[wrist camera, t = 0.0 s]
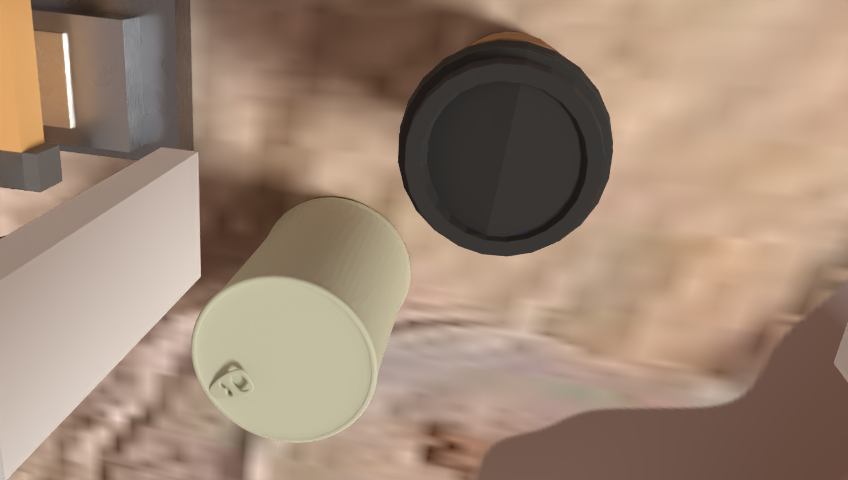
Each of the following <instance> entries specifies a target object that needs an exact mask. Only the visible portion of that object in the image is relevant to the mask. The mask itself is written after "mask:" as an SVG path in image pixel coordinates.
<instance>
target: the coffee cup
mask: <svg viewBox="0 0 848 480" xmlns="http://www.w3.org/2000/svg"><path fill="white" fill-rule="evenodd" d="M612 147H613V140H612V132H611V125H610V117H609V114H608V112H607V109H606V107H605V105H604V102H603V100H602V98H601V95H600V93H599V91H598V89H597V88H596V87H595V85H594V84H593V83H592V82H591V81H590V79H589V78H588V77H587V76H586V74H585V73H584V72H583V71H582V70H581V68H580V67H578V66H577V65H575V64H574V63H572V62H571V61H570V60H568V59H567V58H565V57H564V56H562V55H561V54H560V53H559V52H557V51H556V50H555V49H554V48H552V47H551V46H549V45H548V44H547V43H545V42H544V41H542V40H541V39H538V38H536V37H533V36H530V35H527V34H524V33H518V32H502V33H497V34H492V35H489V36H486V37H484V38H482V39H480V40H478V41H476V42H474V43H472V44H470V45H469V46H467V47H466V48H464V49H463V50H461V51H459V52H457V53H455V54H453V55H451V56H449V57H447V58H445V59H444V60H443V61H442V62H440V63H439V64H438V65H437V66H436V67H435V68H434V69H433V70H432V71H430V72H429V73H428V74H427V75H426V76H425V77H424V78H423V79H422V81H421V82H420V84H419V86H418V87H417V89H416V90H415V92H414V93H413V95H412V96H411V98H410V100H409V101H408V104H407V107H406V111H405V114H404V117H403V120H402V123H401V126H400V133H399V154H398V163H399V167H400V172H401V176H402V180H403V184H404V188H405V190H406V192H407V194H408V196H409V197H410V199H411V201H412V203H413V205H414V207H415V209H416V211H417V212H418V213H419V214H420V215H421V216H422V217H423V218H424V219H425V220H426V221H427V223H428V224H429V225H430V226H431V227H432V228H433V229H434V230H435V231H437V232H438V233H440V234H441V235H443V236H444V237H446V238H447V239H449V240H450V241H452V242H453V243H455V244H457V245H458V246H460V247H463V248H466V249H469V250H472V251H475V252H478V253H481V254H487V255H498V256H512V255H519V254H525V253H532V252H534V251H537V250H539V249H541V248H544V247H546V246H549V245H551V244H553V243H555V242H558V241H560V240H561V239H562V238H564V237H565V236H566V235H568V234H569V233H570V232H572V231H573V230H574V229H576V228H577V227H578V226H580V225H581V224H582V223H583V221H584V220H585V219H586V218H587V216H588V215H589V214H590V213H591V211H592V210H593V209H594V208H595V206H596V205H597V204H598V202H599V200H600V198H601V195H602V193H603V191H604V188H605V186H606V184H607V182H608V179H609V174H610V167H611V160H612V154H613V148H612Z"/></svg>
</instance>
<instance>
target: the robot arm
mask: <svg viewBox="0 0 848 480" xmlns="http://www.w3.org/2000/svg"><path fill="white" fill-rule="evenodd" d="M200 277H201V260H200V210H199V160H198V152H196V151H188V150H180V149H172V148H164V147H161V148H159V149H157V150H156V151H154V152H152V153H150V154H149V155H147V156H145V157H143V158H142V159H140V160H138V161H136V162H135V163H133V164H131V165H129V166H128V167H126V168H124V169H122V170H121V171H119V172H117V173H115V174H113V175H112V176H110V177H108V178H106V179H105V180H103V181H101V182H99V183H98V184H96V185H94V186H92V187H91V188H89V189H87V190H85V191H84V192H82V193H80V194H78V195H77V196H75V197H73V198H71V199H70V200H68V201H66V202H64V203H63V204H61V205H59V206H57V207H56V208H54V209H52V210H50V211H49V212H47V213H45V214H43V215H42V216H40V217H38V218H36V219H34V220H33V221H31V222H29V223H27V224H26V225H24V226H22V227H20V228H19V229H17V230H15V231H13V232H12V233H10V234H8V235H6V236H3V237H0V480H7V479H8V478H9V477H10V476H11V475H12V474H13V473H14V471H15V470H16V469H17V468H18V467H19V466H20V465H21V464H22V463H23V462H24V461H25V460H26V459H27V458H28V457H29V456H30V455H31V454H32V453H33V452H34V451H35V450H36V448H37V447H38V446H39V445H40V444H41V443H42V442H43V441H44V440H45V439H46V438H47V437H48V436H49V435H50V434H51V433H52V432H53V431H54V430H55V429H56V428H57V427H58V425H59V424H60V423H61V422H62V421H63V420H64V419H65V418H66V417H67V416H68V415H69V414H70V413H71V412H72V411H73V410H74V409H75V408H76V407H77V406H78V405H79V404H80V402H81V401H82V400H83V399H84V398H85V397H86V396H87V395H88V394H89V393H90V392H91V391H92V390H93V389H94V388H95V387H96V386H97V385H98V384H99V383H100V382H101V381H102V379H103V378H104V377H105V376H106V375H107V374H108V373H109V372H110V371H111V370H112V369H113V368H114V367H115V366H116V365H117V364H118V363H119V362H120V361H121V360H122V359H123V358H124V356H125V355H126V354H127V353H128V352H129V351H130V350H131V349H132V348H133V347H134V346H135V345H136V344H137V343H138V342H139V341H140V340H141V339H142V338H143V337H144V336H145V334H146V333H147V332H148V331H149V330H150V329H151V328H152V327H153V326H154V325H155V324H156V323H157V322H158V321H159V320H160V319H161V318H162V317H163V316H164V315H165V314H166V313H167V311H168V310H169V309H170V308H171V307H172V306H173V305H174V304H175V303H176V302H177V301H178V300H179V299H180V298H181V297H182V296H183V295H184V294H185V293H186V292H187V291H188V290H189V288H190V287H191V286H192V285H193V284H194V283H195V282H196V281H197V280H198V279H199V278H200ZM834 364H835V365H836V367H837V368H838V370H839V371H840V372H841V374H842V375H843V376H844V378H845V379H846V380H847V382H848V323H847V326H846V329H845V332H844V335H843V338H842V341H841V344H840V347H839V350H838V353H837V356H836V358H835V361H834Z"/></svg>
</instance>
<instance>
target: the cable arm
mask: <svg viewBox="0 0 848 480" xmlns="http://www.w3.org/2000/svg"><path fill="white" fill-rule="evenodd" d="M61 181H62V171H61V160H60V149H59V145H57V144H49V143H45V142H44V132H43V122H42V111H41V101H40V91H39V81H38V71H37V61H36V50H35V40H34V30H33V20H32V10H31V0H0V187H3V188H11V189H19V190H26V191H34V192H42V191H44V190H46V189H48V188H50V187H52V186H54V185H56V184H58V183H59V182H61Z"/></svg>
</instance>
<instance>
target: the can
mask: <svg viewBox="0 0 848 480" xmlns="http://www.w3.org/2000/svg"><path fill="white" fill-rule="evenodd" d="M410 277H411V269H410V261H409V256H408V253H407V250H406V247H405V245H404V243H403V241H402V239H401V237H400V236H399V234H398V232H397V231H396V230H395V229H394V227H393V226H392V225H391V224H390V223H389V222H388V221H387V220H386V219H385V218H384V217H383V216H382V215H380V214H379V213H378V212H376V211H374V210H373V209H371V208H370V207H368V206H366V205H363V204H361V203H358V202H356V201H352V200H348V199H343V198H335V197H327V198H317V199H313V200H309V201H306V202H303V203H301V204H299V205H296V206H295V207H293V208H292V209H290V210H289V211H287V212H286V213H285V214H284V215H282V216H281V217H280V218H279V219H278V221H277V222H276V223H275V225H274V226H273V227H272V229H271V231H270V233H269V235H268V237H267V238H266V239H265V240H264V242H263V243H262V244H261V245H260V246H259V248H258V249H257V250H256V251H255V252H254V253H253V255H252V256H251V257H250V258H249V259H248V260H247V261H246V263H245V264H244V265H243V266H242V267H241V268H240V269H239V271H238V272H237V273H236V274H235V275H234V276H233V277H232V278H231V280H230V281H229V282H228V283H227V284H226V285H225V286H224V287H223V288H222V289H221V290H220V291H219V292H218V293H216V294H215V295H214V296H213V297H212V298H211V299H210V300H209V301H208V302H207V304H206V305H205V306H204V308H203V309H202V311H201V312H200V314H199V316H198V318H197V320H196V323H195V326H194V330H193V334H192V343H191V354H192V361H193V366H194V370H195V373H196V376H197V378H198V380H199V383H200V385H201V387H202V388H203V390H204V392H205V394H206V395H207V396H208V398H209V399H210V400H211V402H212V403H213V404H214V405H215V406H216V408H218V409H219V410H220V411H221V412H222V413H223V414H224V415H225V416H226V417H227V418H229V419H230V420H231V421H233V422H234V423H235V424H237V425H239V426H240V427H242V428H244V429H245V430H247V431H249V432H251V433H254V434H256V435H259V436H262V437H265V438H268V439H272V440H277V441H282V442H296V443H300V442H311V441H316V440H320V439H324V438H327V437H330V436H333V435H335V434H337V433H339V432H341V431H342V430H344V429H346V428H347V427H349V426H350V425H351V424H352V423H353V422H355V421H356V420H357V419H358V418H359V417H360V415H361V414H362V413H363V412H364V410H365V409H366V407H367V406H368V404H369V402H370V400H371V398H372V396H373V393H374V391H375V387H376V382H377V375H378V372H379V368H380V365H381V362H382V359H383V355H384V352H385V349H386V346H387V343H388V340H389V337H390V334H391V331H392V328H393V325H394V322H395V319H396V316H397V313H398V310H399V309H400V307H401V305H402V304H403V302H404V300H405V298H406V295H407V293H408V289H409V285H410Z"/></svg>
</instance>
